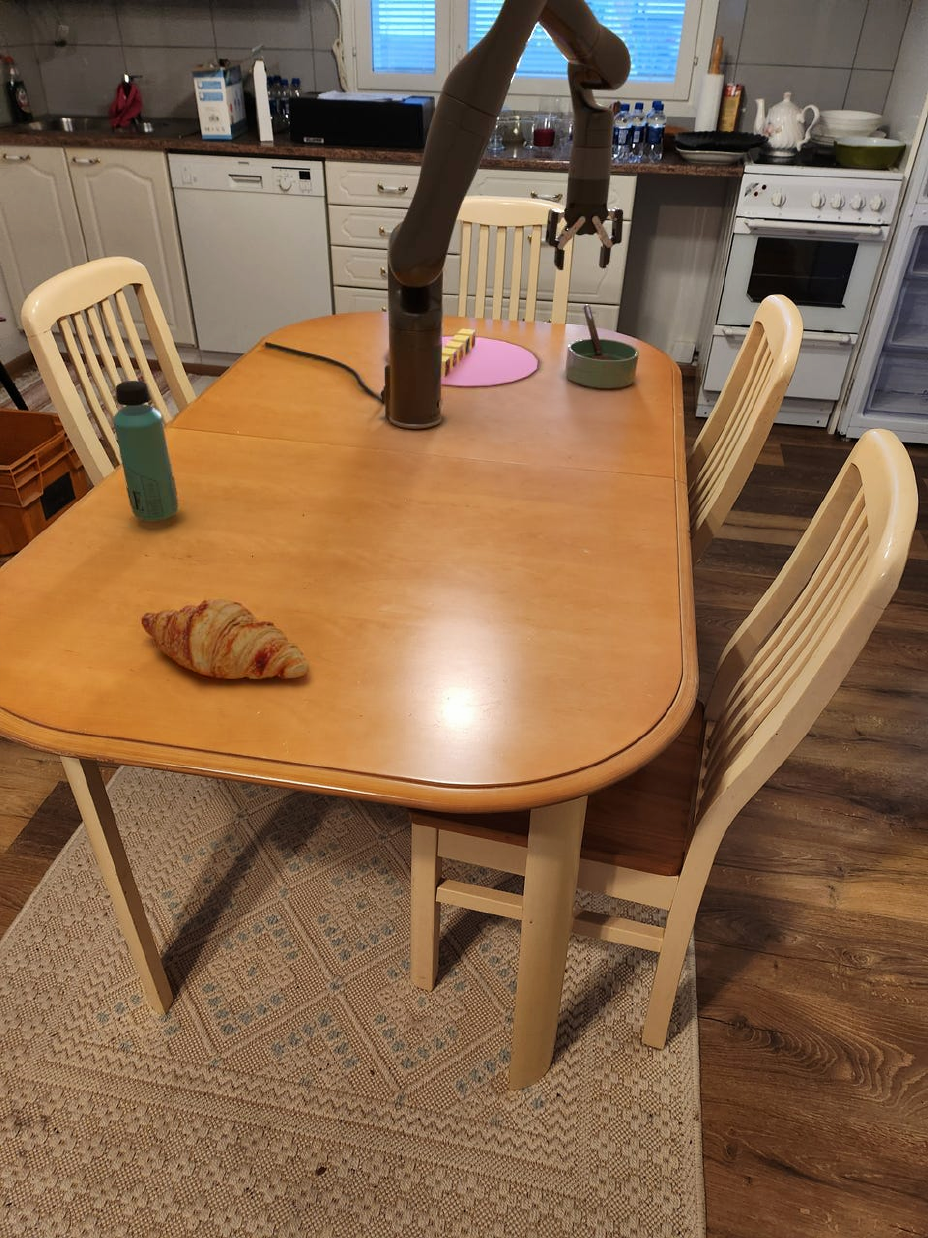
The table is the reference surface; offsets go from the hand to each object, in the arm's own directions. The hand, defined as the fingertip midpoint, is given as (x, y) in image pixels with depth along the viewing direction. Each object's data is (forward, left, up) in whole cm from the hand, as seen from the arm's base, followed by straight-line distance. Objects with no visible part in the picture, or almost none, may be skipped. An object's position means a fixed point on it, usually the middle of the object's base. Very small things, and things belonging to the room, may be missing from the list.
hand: (581, 268), depth 165 cm
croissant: (+14, -107, -22) cm, 110 cm away
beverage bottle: (-17, -90, -22) cm, 94 cm away
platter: (-23, -4, -22) cm, 32 cm away
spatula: (+2, +8, -16) cm, 18 cm away
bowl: (+5, +5, -22) cm, 23 cm away
